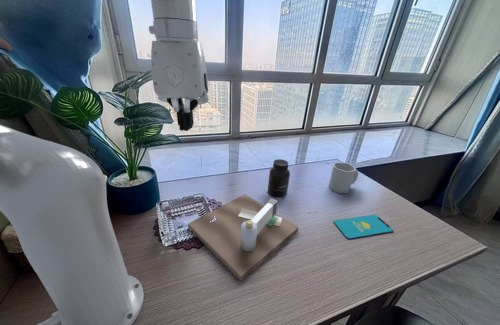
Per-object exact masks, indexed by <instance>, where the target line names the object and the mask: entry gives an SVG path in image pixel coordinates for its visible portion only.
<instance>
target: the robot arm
mask: <svg viewBox="0 0 500 325" xmlns="http://www.w3.org/2000/svg"><path fill="white" fill-rule="evenodd" d="M150 2H151V8H152V18H153V21H152V24H153V25H149V26H148V31H149V33H150V34H151V35H153V36H154V38H155V40H152V41H151V51H150V53H151V54H150V63H151V64H150V65H151V77H152V79H151V80H152V86H153V91H154V93H155V94H156V96H158V100H159V101H160V102H164V103H168V105H170V106H171V107H172V109H173V111H174V112H175V113H176V119H177V120H176V121H177V126H178V128H179V131H180V132H181V131H182V132H183V131H185V132H188V131H189V130H191V129H192V128H193V126H194V123H195V122H194V110H195V109H196V108H197V106H199V105H206V104H207V103H208V102H210V101H209V100H210V99H209V95H208V92H209V80H208V71H207V65H206V59H205V53H204V49H203V48H204V47H203V44H202V43H201V42H199V36H198V35H199V34H198V20H197V18H198V17H197V1H196V0H150ZM183 99H184V100H183ZM106 183H107V182H106V178H105V176H104V173H103V171H102V169H101V167H100V166H99V165H98V164H97V163H96V162H95V161H94V160H93V159H92V158H91V157H89V156H87V155H86V154H84V153H83V152H81V151H79V150H77V149H75V148H72V147H69V146H66V145H63V144H60V143H57V142H54V141H50V140H46V139H42V138H40V137H38V136H34V135H30V134H27V133H24V132H23V131H22V132H21V131H19V130H16V129H13V128H11V127H8V126H5V125H2V124H0V212H1V213H2V214H3V215H4V216H5V217H6V219H7V220H8V221H9V222H10V224H11V226H12V227H13V229H14V231H15V233H16V235H17V238H18V240H19V244H20V246H21V248H22V252H23V253H24V255H25V256H26V258H27V261H28V262H29V264H30V266H31V267H32V268H33V271H34V272H35V273H36V274H37V276H38V278H39V280H40V282H41V283H42V285H43V286H44V288H45V290H46V291H47V293H48V294H49V297H50V298H51V300H52V301H53V303H54V305H55V306H56V308H57V311H55V312H53V313H52V314H51V316H50V317H49V318H47V319H45V320H44V321H42V322H39V323H37V324H36V325H132V324H134V322H135V320H136V319H137V317H138V316H139V315H140V312H141V310H142V307H143V303H144V296H145V293H144V289H143V286H142V283H141V282H140V281H139V279H138V278H136V277H134V276H132V275H129V274H128V271H127V268H126V264H125V262H124V258H123V256H122V251H121V249H120V245H119V243H118V240H117V237H116V234H115V231H114V228H113V224H112V221H111V217H110V213H109V208H108V200H107V184H106Z"/></svg>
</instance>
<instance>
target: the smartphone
mask: <svg viewBox="0 0 500 325" xmlns="http://www.w3.org/2000/svg"><path fill="white" fill-rule="evenodd" d="M333 225H335V227H336V228H337V229H338V230H339V231H340V233H341V234H342V235H343V236H344V237H345V238H346V240H354V239H361V238H367V237H372V236H378V235H385V234H389V233H393V232H394V229H393V228H392V227H391V226H390V225H388V223H386V222H385V221H384V220H383V219H381V217H379V216H378V215H377V214H370V215H363V216H356V217H349V218H342V219H335V220H333Z"/></svg>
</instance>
